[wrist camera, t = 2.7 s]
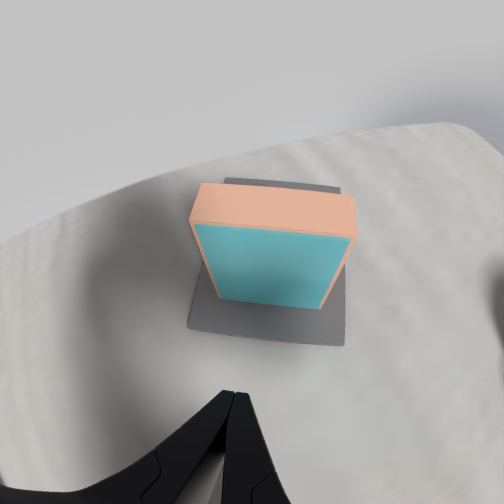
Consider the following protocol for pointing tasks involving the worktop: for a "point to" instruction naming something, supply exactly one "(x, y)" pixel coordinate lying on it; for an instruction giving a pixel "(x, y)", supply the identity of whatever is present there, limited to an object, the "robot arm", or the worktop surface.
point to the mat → (271, 316)
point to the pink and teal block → (273, 242)
